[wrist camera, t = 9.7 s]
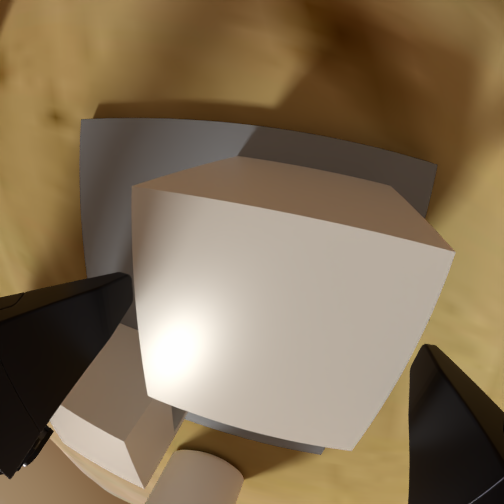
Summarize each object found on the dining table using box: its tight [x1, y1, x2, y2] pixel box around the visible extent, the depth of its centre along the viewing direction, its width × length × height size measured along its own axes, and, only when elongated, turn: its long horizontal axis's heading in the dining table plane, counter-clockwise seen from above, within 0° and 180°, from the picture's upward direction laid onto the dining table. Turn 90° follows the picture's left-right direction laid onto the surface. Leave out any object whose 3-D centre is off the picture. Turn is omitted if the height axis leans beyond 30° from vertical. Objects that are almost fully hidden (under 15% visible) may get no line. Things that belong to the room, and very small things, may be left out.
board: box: [80, 118, 437, 455], centre depth 18 cm, size 22×19×1 cm
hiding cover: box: [131, 156, 455, 451], centre depth 11 cm, size 7×7×8 cm
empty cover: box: [50, 324, 188, 489], centre depth 17 cm, size 7×7×8 cm
